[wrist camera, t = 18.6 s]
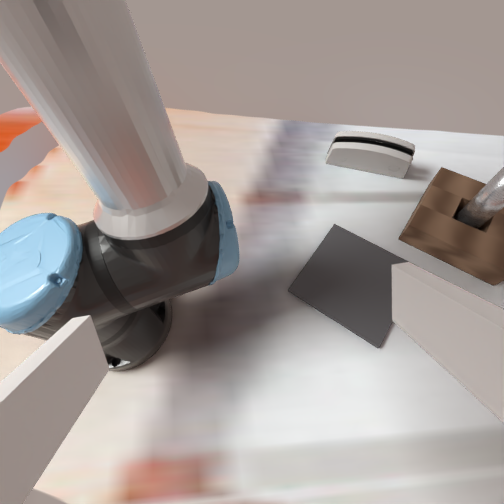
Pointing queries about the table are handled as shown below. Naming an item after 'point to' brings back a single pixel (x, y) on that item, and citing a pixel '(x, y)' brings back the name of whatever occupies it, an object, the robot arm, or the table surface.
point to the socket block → (457, 228)
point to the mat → (350, 284)
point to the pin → (484, 203)
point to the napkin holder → (371, 153)
